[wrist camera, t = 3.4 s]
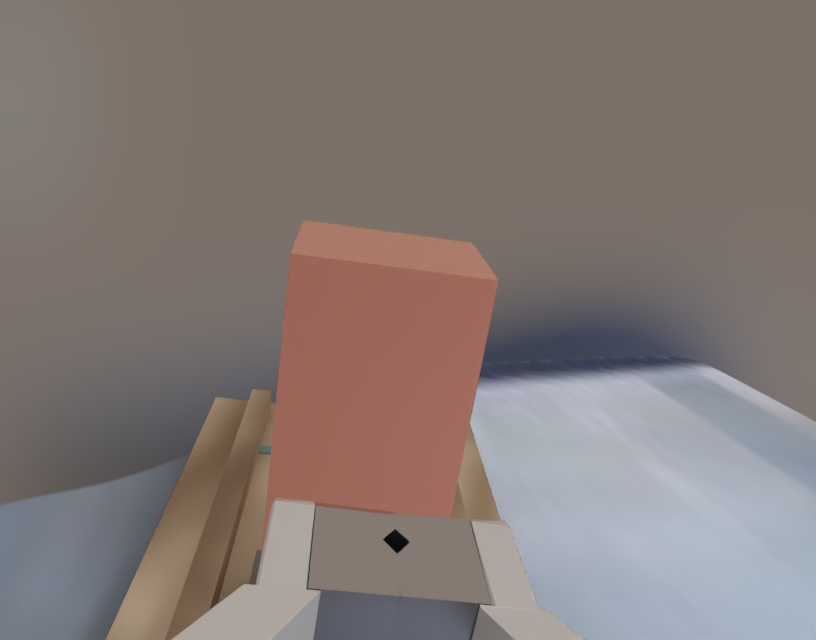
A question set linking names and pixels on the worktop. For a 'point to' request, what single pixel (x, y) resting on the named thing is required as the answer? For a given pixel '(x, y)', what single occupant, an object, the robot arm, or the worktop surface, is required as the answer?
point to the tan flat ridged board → (231, 521)
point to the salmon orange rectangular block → (377, 369)
